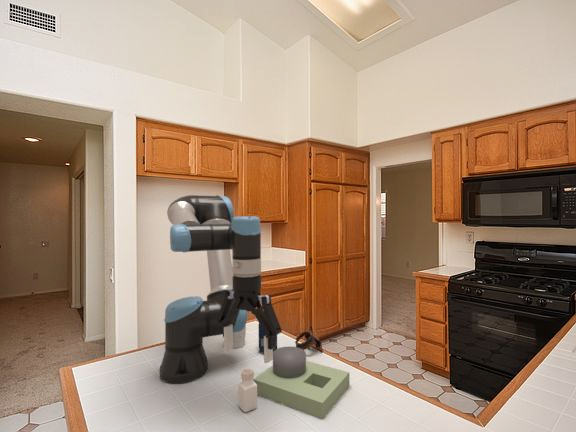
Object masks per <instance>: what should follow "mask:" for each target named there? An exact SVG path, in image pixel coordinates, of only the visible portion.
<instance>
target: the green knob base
mask: <svg viewBox="0 0 576 432" xmlns="http://www.w3.org/2000/svg"><path fill="white" fill-rule="evenodd" d="M253 381H254V382H255V383H256V384H257V396H260V397H262V398H265V399H268V400H270V401H273V402H276V403H279V404H282V405H284V406H287V407H289V408H292V409H294V410H298V411H300V412H303V413H306V414H308V415H310V416H314V417H317V418H319V419H322V420H324V418H325V417H326V415H328V413H329V412H330V410H331V409H332V408H333V407H334V406H335V404H336V403H337V402H338V401H339V399H340V398H341V397H342V396H343V395H344V393H345V392H346V391H347V390H348V388H349V387H350V372H349V371H346V370H341V369H338V368H334V367H331V366H326V365H323V364H320V363H316V362H313V361H309V360H307V354H306V351H305V350H303V349H301V348H298V347H296V346H281V347H277V349H276V350H275V351H274V352H273V360H272V365H271V366H269V368H267V369H265V370H264V371H262V372H261V373H260V374H258V375H257V376H254V379H253Z"/></svg>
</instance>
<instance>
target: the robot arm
mask: <svg viewBox="0 0 576 432" xmlns="http://www.w3.org/2000/svg"><path fill="white" fill-rule="evenodd" d="M233 207H234V206H233V203H232V201H231V199H230V198H229V197H228V196H224V195H193V194H189V195H184V196H182V197H179V198H177V199H175V200H174V201H172V202H171V203H170V204H169V206H168V207H167V211H166V212H167V218H168V220H169V222H170V223H171V224H172V225H171V226H170V230H169V245H170V251H172V252H174V253H177V252H178V253H179V252H180V253H189V252H192V253H193V252H206V256H207V265H208V268H207V269H208V276H209V287H210V291H209V292H208V294H207V295H206V300H203V298H202V297H201V296H197V295H196V296H186V297H181V298H179V299H176V300H174V301H171V302H170V303H168V305H167V306H166V308H165V311H164V313H165V315H164V318H163V319H164V320H163V322H164V326H165V327H164V329H165V330H164V331H165V334H164V337H165V340H164V348H165V349H164V353H163V357H162V361H161V364H160V366H159V379H160V380H161V381H162V382H164V383H167V384H185V383H189V382H193V381H196V380H197V379H200V378H202V377H204V376H205V375H206V374H207V373H208V371H209V360H208V357H207V354H206V351H205V349H204V346H203V344H204V343H203V339H204V338H207V337H215V336H221V335H222V338H223V352H226V353H227V352H228V351H230V350H232V349H234V348H233V333H234V332H238V331H241V330H243V329H244V327H245V325H246V326H247V321H248V320H247V319H248V313H249V312H251V314H252V315H254V317H255V319H256V320H257V321H258V324H259V323H260V325H261V327H262V328H263V330H264V332H265V333H266V336H264V354H263V363H264V364H268V363H269V362H271V361H273V348H274V347H275V336H276V335H277V336H278V335H280V334H281V333H282V327H281V325H280V322H279V319H278V317H277V314H276V312H275V309H274V307H273V304H272V296H271V295H270V294H267V295H261V289H262V276H261V273H262V257H261V255H262V252H261V251H262V247H261V246H262V245H261V241H262V239H261V235H262V228H261V219H260V217H258V216H253V215H252V216H234V208H233ZM231 251H232V252H231ZM231 253H232V255H231Z"/></svg>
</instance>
